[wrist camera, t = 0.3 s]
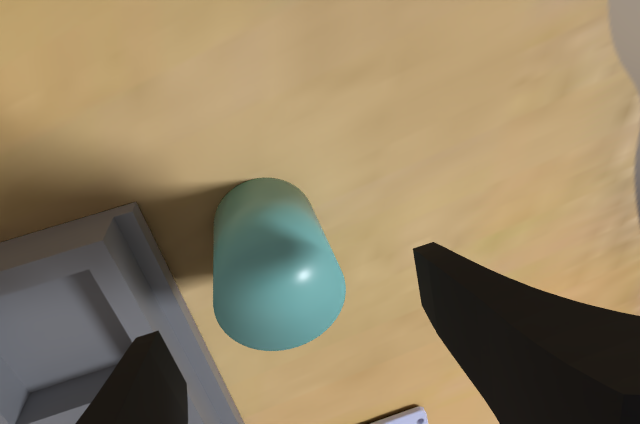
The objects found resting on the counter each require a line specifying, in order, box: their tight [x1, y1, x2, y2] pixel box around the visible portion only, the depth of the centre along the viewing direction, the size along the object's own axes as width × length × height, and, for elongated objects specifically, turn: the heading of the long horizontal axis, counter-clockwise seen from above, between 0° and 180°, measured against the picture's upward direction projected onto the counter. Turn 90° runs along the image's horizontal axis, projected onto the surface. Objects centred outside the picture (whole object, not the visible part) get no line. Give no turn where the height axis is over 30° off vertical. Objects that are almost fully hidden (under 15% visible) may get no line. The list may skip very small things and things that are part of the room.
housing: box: [0, 202, 244, 424], centre depth 20 cm, size 16×10×6 cm, turn 13°
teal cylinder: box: [213, 178, 346, 351], centre depth 19 cm, size 5×5×6 cm
